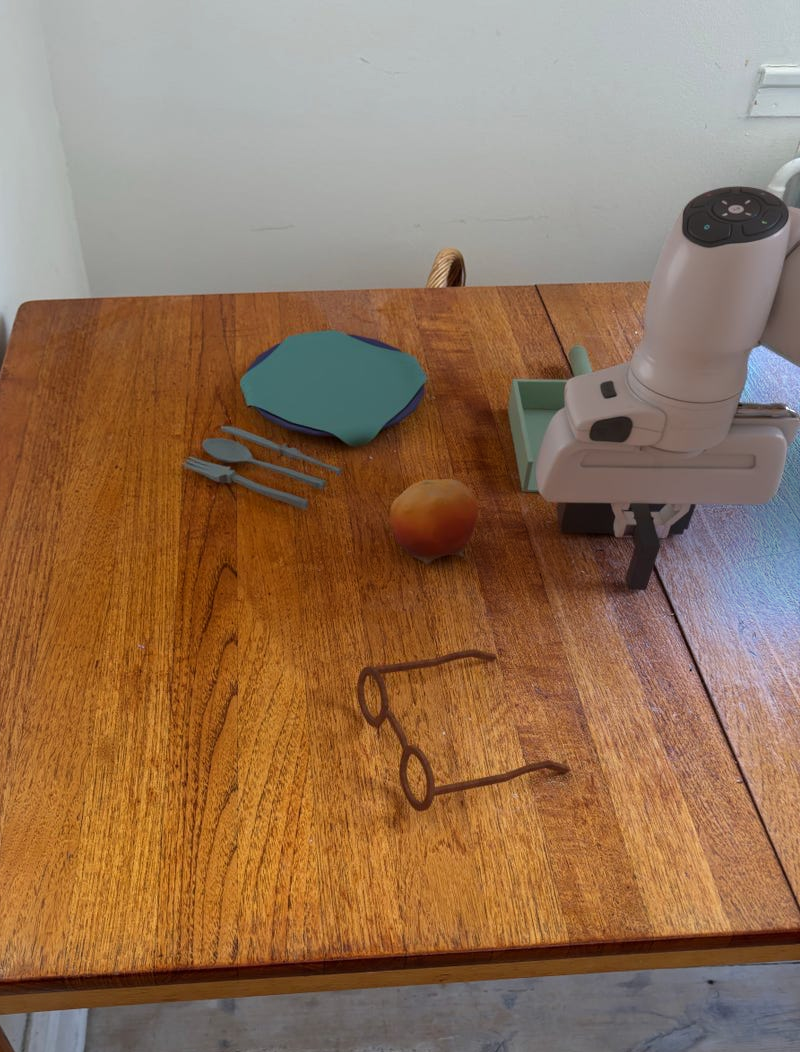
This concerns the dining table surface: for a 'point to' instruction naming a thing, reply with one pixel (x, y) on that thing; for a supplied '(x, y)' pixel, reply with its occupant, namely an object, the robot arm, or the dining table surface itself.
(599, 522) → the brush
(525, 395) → the dustpan
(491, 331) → the dining table surface
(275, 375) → the cutlery set
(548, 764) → the glasses
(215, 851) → the dining table surface
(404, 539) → the fruit
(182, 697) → the dining table surface
